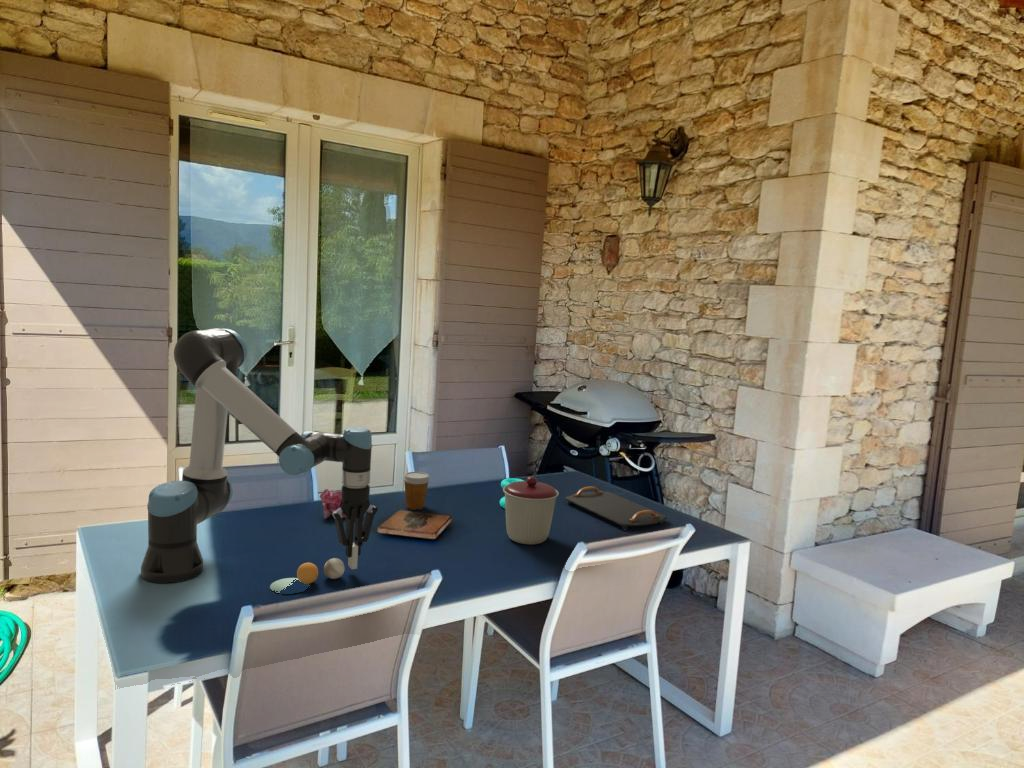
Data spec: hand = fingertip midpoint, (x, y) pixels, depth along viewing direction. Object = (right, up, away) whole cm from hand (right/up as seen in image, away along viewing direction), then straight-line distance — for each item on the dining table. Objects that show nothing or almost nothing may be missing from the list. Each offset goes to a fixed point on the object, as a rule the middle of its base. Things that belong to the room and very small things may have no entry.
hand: (352, 567), depth 197 cm
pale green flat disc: (-14, -2, -10) cm, 18 cm away
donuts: (+44, +5, +69) cm, 82 cm away
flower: (-16, +6, +46) cm, 49 cm away
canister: (+49, 0, +36) cm, 61 cm away
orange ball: (-10, 0, -8) cm, 13 cm away
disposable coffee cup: (+9, +6, +61) cm, 62 cm away
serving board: (+82, +2, +70) cm, 108 cm away
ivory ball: (-4, +1, -4) cm, 6 cm away
